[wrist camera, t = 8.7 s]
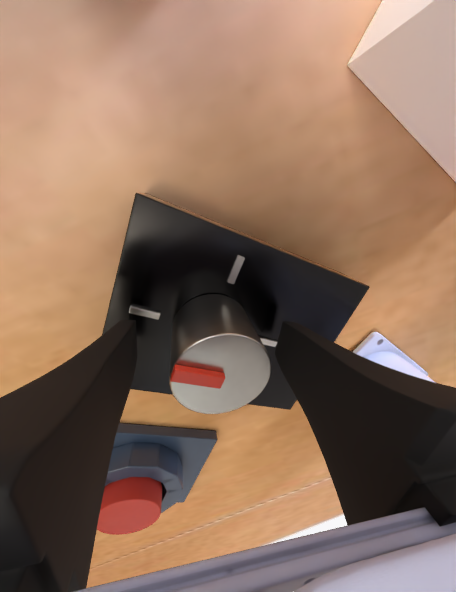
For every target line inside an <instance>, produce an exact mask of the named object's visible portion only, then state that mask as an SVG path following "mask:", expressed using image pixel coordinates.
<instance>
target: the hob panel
mask: <svg viewBox="0 0 456 592" xmlns="http://www.w3.org/2000/svg"><path fill="white" fill-rule="evenodd" d="M368 289H369V286H367V285H365V284H363V283H361V282H359V281H357V280H355V279H353V278H351V277H349V276H347V275H345V274H342V273H340V272H338V271H335V270H333V269H330V268H328V267H325V266H323V265H321V264H318V263H316V262H313V261H311V260H308V259H306V258H303V257H301V256H298V255H296V254H294V253H291V252H289V251H286V250H284V249H281V248H279V247H276V246H274V245H272V244H269V243H267V242H264V241H262V240H259V239H257V238H254V237H252V236H249V235H247V234H245V233H242V232H240V231H237V230H235V229H232V228H230V227H227V226H225V225H223V224H220V223H218V222H215V221H213V220H210V219H208V218H205V217H203V216H200V215H198V214H196V213H193V212H191V211H188V210H186V209H183V208H181V207H178V206H176V205H174V204H171V203H169V202H166V201H164V200H161V199H159V198H156V197H154V196H151V195H149V194H147V193H136V194H135V199H134V203H133V207H132V211H131V216H130V220H129V224H128V228H127V232H126V237H125V241H124V245H123V249H122V254H121V258H120V262H119V266H118V271H117V275H116V279H115V283H114V288H113V292H112V296H111V300H110V304H109V309H108V313H107V317H106V321H105V326H104V330H103V334H105V333H106V332H107V331H108V330H109V329H111V328H112V327H113V326H114V325H116V324H117V323H118V322H119V321H121V320H136V338H137V362H136V368H135V373H134V378H133V381H132V384H131V388H130V389H135V390H143V391H151V392H159V393H166V394H173V393H172V391H171V388H170V382H169V376H170V358H171V340H172V325H173V321H174V318H175V316H176V314H177V313H178V311H179V310H180V309H181V307H183V306H184V305H185V304H186V303H187V302H189V301H190V300H192V299H194V298H196V297H199V296H202V295H207V294H220V295H224V296H227V297H230V298H232V299H234V300H235V301H237V302H238V303H239V304H240V305H241V306H242V308H243V309H244V311H245V312H246V314H247V316H248V318H249V320H250V321H251V323H252V325H253V327H254V329H255V330H256V332H257V334H258V336H259V338H260V339H261V341H262V343H263V345H264V346H265V348H266V350H267V352H268V354H269V356H270V359H271V374H270V378H269V380H268V382H267V384H266V386H265V388H264V389H263V390H262V392H261V393H260V394H259V395H258V396H257V397H256V398H255V399H253V400H252V401H251V402H249V403H248V404H251V405H259V406H266V407H274V408H282V409H289V410H290V409H291V408H292V406H293V405H294V403H295V401H296V400H297V398H296V396H295V395H294V393H293V391H292V389H291V387H290V386H289V384H288V382H287V380H286V378H285V377H284V375H283V373H282V371H281V369H280V366H279V364H278V361H277V359H276V356H275V350H276V346H277V342H278V338H279V334H280V330H281V326H282V322H283V321H288V322H296V323H298V324H300V325H302V326H304V327H306V328H308V329H310V330H312V331H313V332H315V333H317V334H319V335H321V336H322V337H324V338H326V339H328V340H330V341H332V342H333V343H334V341H335V340H336V338H337V337H338V335H339V334H340V332H341V331H342V329H343V327H344V326H345V324H346V323H347V321H348V320H349V318H350V317H351V315H352V314H353V312H354V311H355V309H356V307H357V306H358V304H359V303H360V301H361V300H362V298H363V297H364V295H365V294H366V292H367V290H368ZM103 334H102V335H103Z"/></svg>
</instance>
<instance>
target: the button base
mask: <svg viewBox="0 0 456 592" xmlns="http://www.w3.org/2000/svg"><path fill="white" fill-rule="evenodd" d="M216 441H217V435H216V431H212V430H200V429H187V428H175V427H163V426H151V425H138V424H126V423H119V425H118V429H117V433H116V436H115V441H114V445H113V450H112V454H111V459H110V464H109V469H108V474H107V479H106V483H105V486H106V485H108V484H109V483H111V482H115V481H118V480H122V479H125V478H128V477H150V478H152V479H154V480H157V481H159V482H161V484H162V503H161V513H162V512H164V511H165V510H166V509H168V508H169V507H171V506H172V505H174V504H175V503H176V502H184V501H185V499H186V497H187V495H188V493H189V492H190V490H191V488H192V486H193V484H194V482H195V480H196V478H197V477H198V475H199V473H200V471H201V469H202V467H203V465H204V463H205V462H206V460H207V458H208V456H209V454H210V452H211V450H212V449H213V447H214V445H215V443H216Z"/></svg>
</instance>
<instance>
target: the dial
mask: <svg viewBox="0 0 456 592" xmlns="http://www.w3.org/2000/svg"><path fill="white" fill-rule="evenodd" d="M270 374H271V359H270V356H269V354H268V352H267V350H266V348H265V346H264V345H263V343H262V341H261V339H260V338H259V336H258V334H257V332H256V330H255V329H254V327H253V325H252V323H251V321H250V320H249V318H248V316H247V314H246V312H245V311H244V309H243V308H242V306H241V305H240V304H239V303H238V302H237V301H235V300H234V299H232V298H230V297H227V296H224V295H220V294H207V295H202V296H199V297H196V298H194V299H192V300H190V301H189V302H187V303H186V304H185V305H184V306H183V307H181V309H180V310H179V311H178V313H177V314H176V316H175V318H174V321H173V325H172V340H171V358H170V376H169V382H170V388H171V391H172V393H173V395H174V397H175V398H176V400H177V401H178V402H179V403H180V404H182V405H183V406H184V407H186V408H188V409H190V410H192V411H195V412H199V413H204V414H219V413H225V412H230V411H233V410H236V409H238V408H240V407H242V406H244V405H246V404H248V403H249V402H251V401H252V400H253V399H255V398H256V397H257V396H258V395H259V394H260V393H261V392H262V390H263V389H264V388H265V386H266V384H267V382H268V380H269V378H270Z"/></svg>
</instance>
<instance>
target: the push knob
mask: <svg viewBox="0 0 456 592" xmlns="http://www.w3.org/2000/svg"><path fill="white" fill-rule="evenodd" d="M161 503H162V484H161V482H159V481H157V480H154V479H152V478H150V477H128V478H125V479H122V480H118V481H115V482H111V483H109V484H108V485H106V486H105V488H104V493H103V498H102V504H101V509H100V514H99V519H98V525H97V530H99V531H101V532H103V533H107V534H128V533H133V532H137V531H140V530H142V529H145V528H147V527H149V526H150V525H152V524H153V523H154V522H155V521H156V520H157V519H158V518H159V516H160V514H161Z"/></svg>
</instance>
